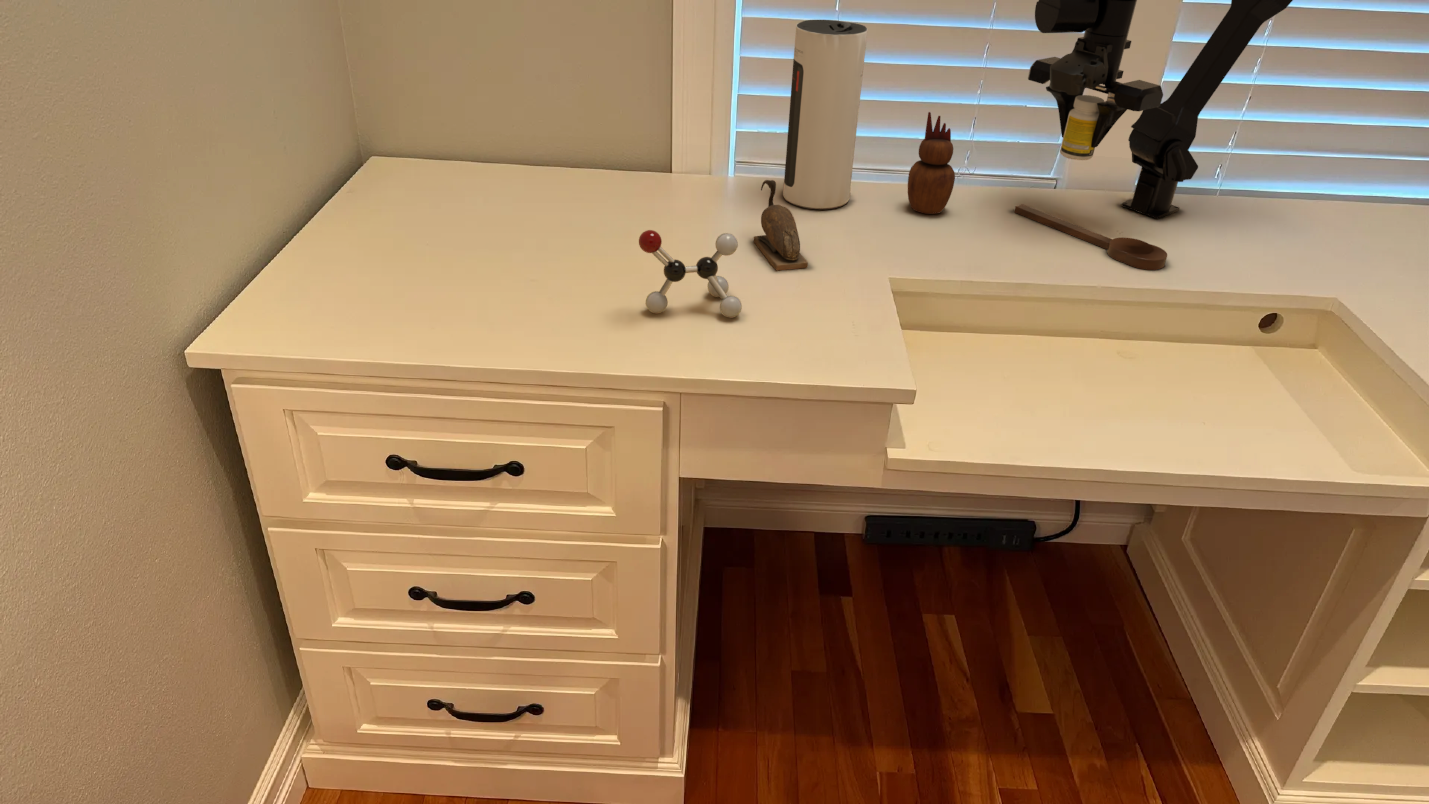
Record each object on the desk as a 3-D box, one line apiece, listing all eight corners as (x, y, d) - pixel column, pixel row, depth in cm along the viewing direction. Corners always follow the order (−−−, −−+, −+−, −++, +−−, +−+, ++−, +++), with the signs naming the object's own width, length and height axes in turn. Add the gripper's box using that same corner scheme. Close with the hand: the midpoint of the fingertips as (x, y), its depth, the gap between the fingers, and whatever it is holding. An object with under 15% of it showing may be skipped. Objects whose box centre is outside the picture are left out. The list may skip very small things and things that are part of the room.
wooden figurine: (900, 212, 150) (914, 114, 142) (908, 200, 154) (923, 104, 146) (944, 220, 148) (962, 121, 140) (951, 207, 152) (969, 110, 144)
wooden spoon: (1005, 215, 151) (1007, 205, 150) (1029, 207, 154) (1031, 198, 153) (1149, 273, 135) (1152, 263, 134) (1172, 263, 138) (1176, 253, 137)
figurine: (743, 229, 142) (747, 171, 137) (772, 227, 143) (777, 169, 138) (776, 271, 131) (781, 209, 126) (808, 268, 132) (814, 206, 127)
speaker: (785, 183, 159) (799, 12, 144) (850, 188, 158) (870, 17, 143) (780, 207, 150) (793, 28, 136) (848, 213, 149) (869, 33, 135)
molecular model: (744, 320, 119) (749, 238, 113) (646, 330, 116) (646, 246, 110) (724, 290, 125) (728, 211, 120) (632, 299, 123) (631, 218, 117)
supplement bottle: (1093, 162, 144) (1108, 104, 139) (1060, 158, 145) (1074, 101, 140) (1090, 152, 148) (1105, 95, 143) (1058, 148, 149) (1071, 92, 144)
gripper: (1015, 23, 139) (993, 133, 147) (1132, 53, 126) (1101, 170, 135) (1064, 16, 144) (1040, 122, 153) (1180, 44, 132) (1147, 157, 141)
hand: (1079, 142), depth 145 cm, fingers closed on supplement bottle, 5 cm apart
